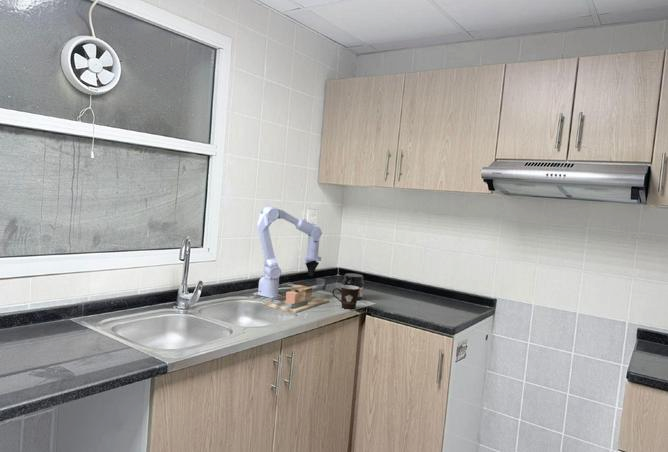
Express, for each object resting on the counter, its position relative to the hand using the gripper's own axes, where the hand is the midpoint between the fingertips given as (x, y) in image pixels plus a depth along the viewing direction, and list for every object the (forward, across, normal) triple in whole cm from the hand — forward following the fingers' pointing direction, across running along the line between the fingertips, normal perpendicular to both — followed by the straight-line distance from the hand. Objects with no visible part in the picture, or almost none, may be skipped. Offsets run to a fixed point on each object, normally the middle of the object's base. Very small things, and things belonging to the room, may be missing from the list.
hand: (310, 275), depth 238 cm
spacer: (+6, -23, -6) cm, 25 cm away
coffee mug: (+10, -9, -26) cm, 29 cm away
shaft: (+6, -8, -6) cm, 12 cm away
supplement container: (+10, +11, -19) cm, 24 cm away
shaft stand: (+10, -19, -6) cm, 23 cm away
